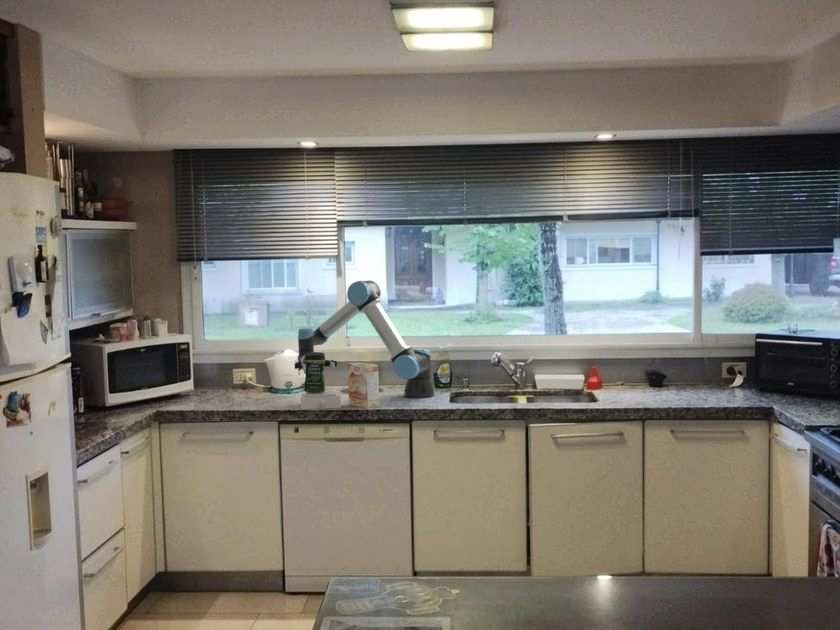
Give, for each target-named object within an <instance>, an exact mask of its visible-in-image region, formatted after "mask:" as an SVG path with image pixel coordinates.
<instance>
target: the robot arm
mask: <svg viewBox="0 0 840 630" xmlns="http://www.w3.org/2000/svg"><path fill="white" fill-rule="evenodd" d="M346 295H347V296H346V297H347V300H348V302H347V303H346V304H345V305H343V306H342V307H341V308H340V309H338V310H337V311H336V312H335V313H333V314H332V315H331V316H330V317H329V318H328V319H326V320H325V321H324V322H323V323H321V324H320V326H318V327H317V328H316V329H315V330H314V329H313V328H309V327H307V328H299V329H298V331H297V333H298V335H297V340H298V355H297V358H296V359H297V362H295V363H294V369H295V370H297V369H298V371H302V370H303V371H305V372H306V364H305V362H304V360H305V354H306V353H310V352H315V350H314V349H315V347H316V346H321V345H323V344H325V343H327V342H328V340H329V338H330V337H331V336H333V335H334V334H335V333H336V332H338V331H339V330H340V329H341V328H343V326H345V325H346V324H347V323H348V322H349V321H351V320H352V319H354V317H356V316H357V315H358V314H360V313H362V314H364V315H365V316H366V318H367V320H369V322H370V323H371V325H372V327H373V328H374V330H375V332H376V333H377V334H378V336H379V338H380V339H381V341H382V343H383V344H384V346H385V347H386V348H387V350H388V352H389V354H390V355H391V356H390V361H391V362H392V364H393V371H394V374H395V375H396V376H397V377H398V378H400V379H403V380H406V384H405V388H404V392H403V394H404V395H403V396H404V397H407V398H415V399H419V398H424V399H425V398H429V397H434V396H435V393H436V392H435V389H434V385H433V383H432V379H431V377H432V376H431V375H432V374H431V352H430V350H429V349H420V348H419V349H418V348H417V349H413V347H412V346H410V345H408V344H406V342H405V341H404V340H403V338H402V337H401V334H400V333H399V332H398V330H397V329H396V327H395V325H394V324H393V322H392V320H391V319H390V318H389V316H388V315H387V313H386V311H385V310H384V309H383V307H382V305H381V298H380V297H381V288H380V285H379V284H378V283H377V282H376V281H373V280H356V281H354V282H352V283H351V284H350V285H349V286H348V289H347V292H346ZM324 367H329V368H331V369H333V370H334V369H335V367H338V360H334V359H331V360H330V359H329V360H328V359H325V364H324Z"/></svg>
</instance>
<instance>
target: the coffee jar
mask: <svg viewBox="0 0 840 630" xmlns="http://www.w3.org/2000/svg"><path fill="white" fill-rule="evenodd" d="M325 355H326V354H325V352H319V351H314V352H310V353H306V354H305V360H304V362H305V364H306V370H305V379H304V384H303V385H304V389H303V391H304V393H307V392H324V391H325V390H326V382H325V381H326V379H325V366H324V364H325V360H326V356H325Z"/></svg>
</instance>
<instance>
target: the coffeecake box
mask: <svg viewBox="0 0 840 630" xmlns="http://www.w3.org/2000/svg"><path fill="white" fill-rule="evenodd" d="M347 368H348V369H347V371H348V375H347V376H348V379H347V380H348V404H349V405H351V406H355V407H359V408H362V409H373V408H379V407H380V386H379V384H380V383H379V381H380V380H379V364H373V363H368V362H367V363H366V362H360V361H359V362H358V361H357V362H350V363H347Z"/></svg>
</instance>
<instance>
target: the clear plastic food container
mask: <svg viewBox="0 0 840 630" xmlns="http://www.w3.org/2000/svg"><path fill="white" fill-rule="evenodd" d="M300 408H301V409H300V410H325V409H342V398H341V392H340V391H334V390H326V389H325V391H324V392H304V393H301V395H300Z"/></svg>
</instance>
